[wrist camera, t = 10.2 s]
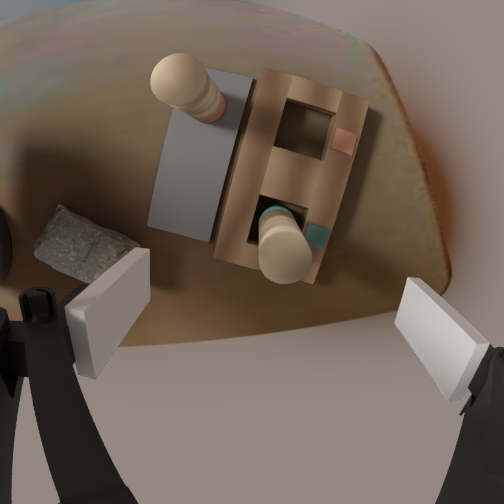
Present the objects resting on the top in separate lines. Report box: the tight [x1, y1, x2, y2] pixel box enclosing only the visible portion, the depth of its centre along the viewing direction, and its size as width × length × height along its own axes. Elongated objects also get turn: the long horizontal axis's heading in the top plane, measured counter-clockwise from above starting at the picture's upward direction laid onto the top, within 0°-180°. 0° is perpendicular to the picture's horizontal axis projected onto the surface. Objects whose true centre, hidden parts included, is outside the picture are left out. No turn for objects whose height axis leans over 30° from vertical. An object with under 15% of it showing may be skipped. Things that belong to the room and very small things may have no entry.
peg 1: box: [151, 53, 226, 123], centre depth 26 cm, size 4×4×14 cm
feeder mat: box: [147, 68, 253, 242], centre depth 35 cm, size 8×20×1 cm, turn 165°
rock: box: [33, 205, 141, 285], centre depth 36 cm, size 17×7×10 cm
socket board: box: [213, 68, 369, 284], centre depth 34 cm, size 12×22×3 cm, turn 165°
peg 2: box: [259, 204, 312, 284], centre depth 30 cm, size 4×4×14 cm
